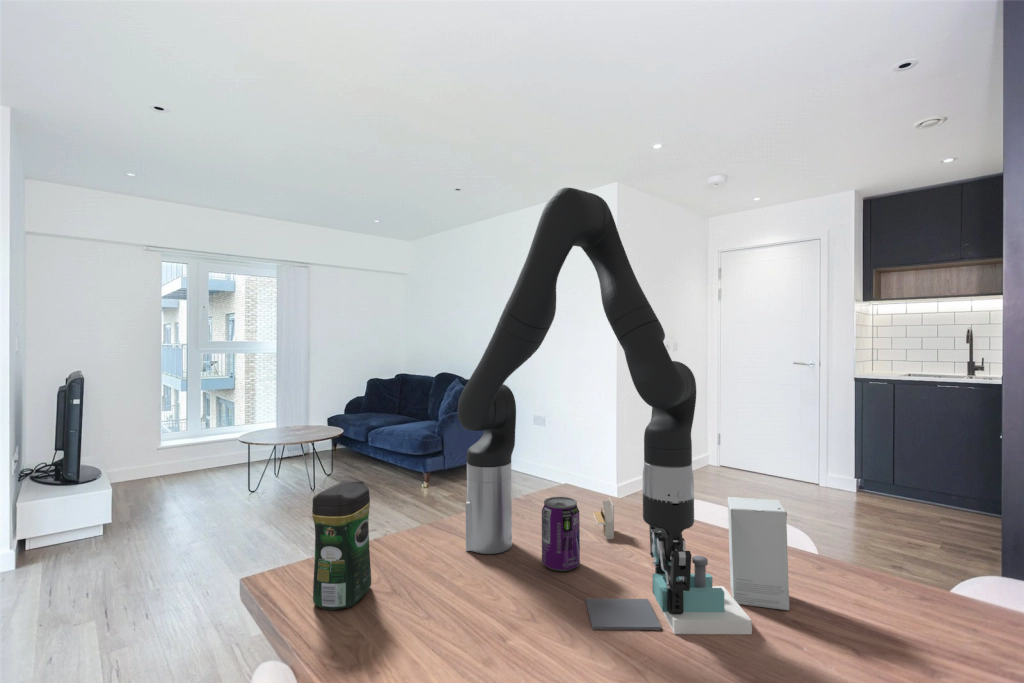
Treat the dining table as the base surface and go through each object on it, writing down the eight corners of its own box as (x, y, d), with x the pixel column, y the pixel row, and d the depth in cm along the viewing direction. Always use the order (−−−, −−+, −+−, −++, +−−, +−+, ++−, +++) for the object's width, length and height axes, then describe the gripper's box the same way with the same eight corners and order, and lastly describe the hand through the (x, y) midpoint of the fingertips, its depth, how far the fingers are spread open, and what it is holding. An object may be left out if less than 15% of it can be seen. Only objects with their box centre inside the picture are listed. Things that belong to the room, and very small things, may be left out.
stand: (674, 633, 71) (673, 573, 71) (655, 598, 81) (655, 545, 81) (751, 634, 71) (751, 574, 71) (723, 598, 81) (723, 545, 81)
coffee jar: (335, 581, 88) (334, 475, 88) (377, 584, 86) (377, 477, 86) (303, 610, 78) (302, 492, 78) (350, 614, 77) (349, 494, 77)
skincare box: (782, 593, 82) (781, 499, 83) (790, 613, 76) (789, 512, 76) (727, 585, 85) (727, 494, 85) (731, 604, 79) (730, 506, 79)
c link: (662, 611, 73) (662, 591, 73) (652, 592, 79) (652, 573, 79) (724, 612, 73) (724, 591, 73) (709, 592, 79) (709, 573, 79)
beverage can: (578, 575, 89) (578, 508, 89) (539, 572, 91) (539, 506, 91) (581, 558, 96) (580, 496, 96) (544, 555, 98) (544, 494, 98)
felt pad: (592, 629, 72) (592, 626, 72) (585, 601, 80) (585, 598, 80) (661, 629, 72) (661, 627, 72) (647, 601, 80) (647, 598, 80)
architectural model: (598, 540, 106) (597, 505, 106) (593, 528, 113) (593, 495, 113) (614, 540, 106) (614, 505, 106) (608, 528, 113) (608, 495, 113)
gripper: (632, 479, 83) (633, 579, 83) (655, 507, 69) (656, 628, 69) (677, 478, 83) (678, 579, 83) (710, 507, 69) (711, 629, 69)
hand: (668, 601), depth 76 cm, fingers closed on c link, 5 cm apart
